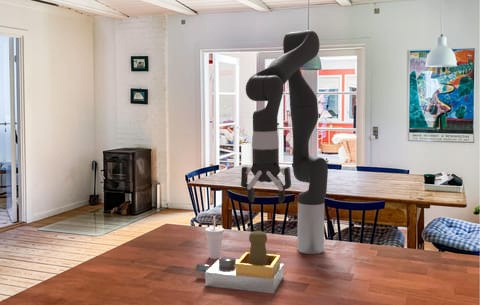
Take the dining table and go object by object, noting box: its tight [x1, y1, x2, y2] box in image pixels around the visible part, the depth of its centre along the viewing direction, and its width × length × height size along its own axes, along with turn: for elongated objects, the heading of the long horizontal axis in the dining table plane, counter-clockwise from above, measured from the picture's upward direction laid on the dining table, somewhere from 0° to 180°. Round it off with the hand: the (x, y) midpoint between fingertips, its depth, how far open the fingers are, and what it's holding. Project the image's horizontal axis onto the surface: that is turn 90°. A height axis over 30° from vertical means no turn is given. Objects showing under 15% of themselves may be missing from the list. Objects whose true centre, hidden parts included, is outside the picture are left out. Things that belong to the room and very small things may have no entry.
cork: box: [248, 230, 268, 266], centre depth 140 cm, size 6×6×11 cm
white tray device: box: [195, 251, 284, 294], centre depth 142 cm, size 13×25×7 cm, turn 73°
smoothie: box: [204, 215, 225, 260], centre depth 163 cm, size 6×6×14 cm
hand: (266, 202), depth 140 cm, fingers open, 8 cm apart
